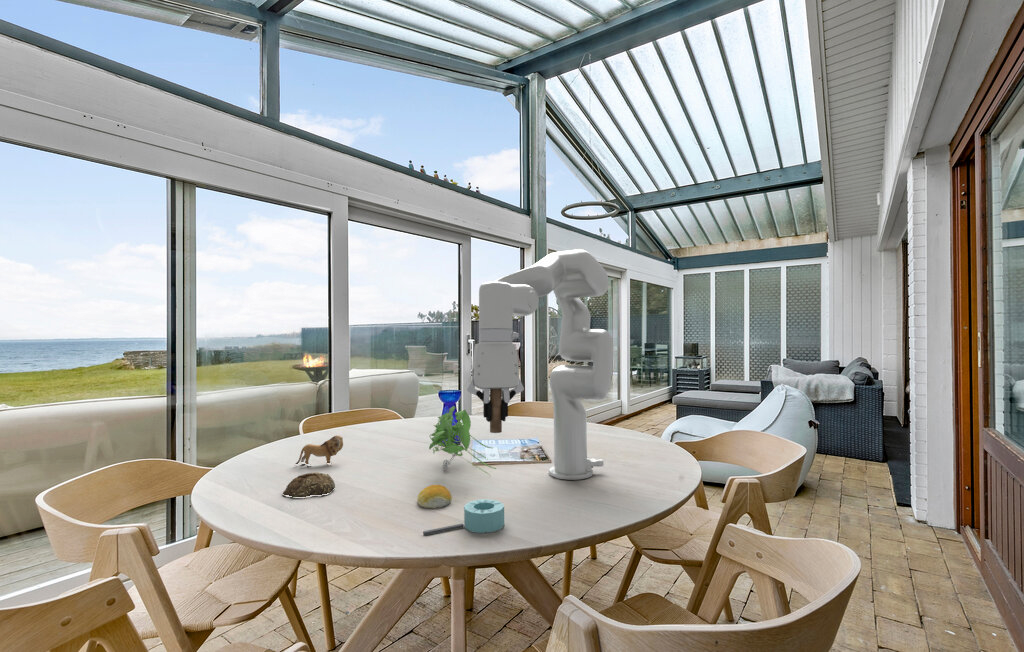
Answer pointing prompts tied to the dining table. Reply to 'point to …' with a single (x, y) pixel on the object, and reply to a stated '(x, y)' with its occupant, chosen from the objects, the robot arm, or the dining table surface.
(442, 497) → the bread roll
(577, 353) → the robot arm
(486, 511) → the bead
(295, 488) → the brown rock
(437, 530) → the thin grey bar
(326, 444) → the lion figurine
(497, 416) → the round-ended wooden dowel
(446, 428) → the plant cuttings
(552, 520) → the dining table surface
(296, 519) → the dining table surface
